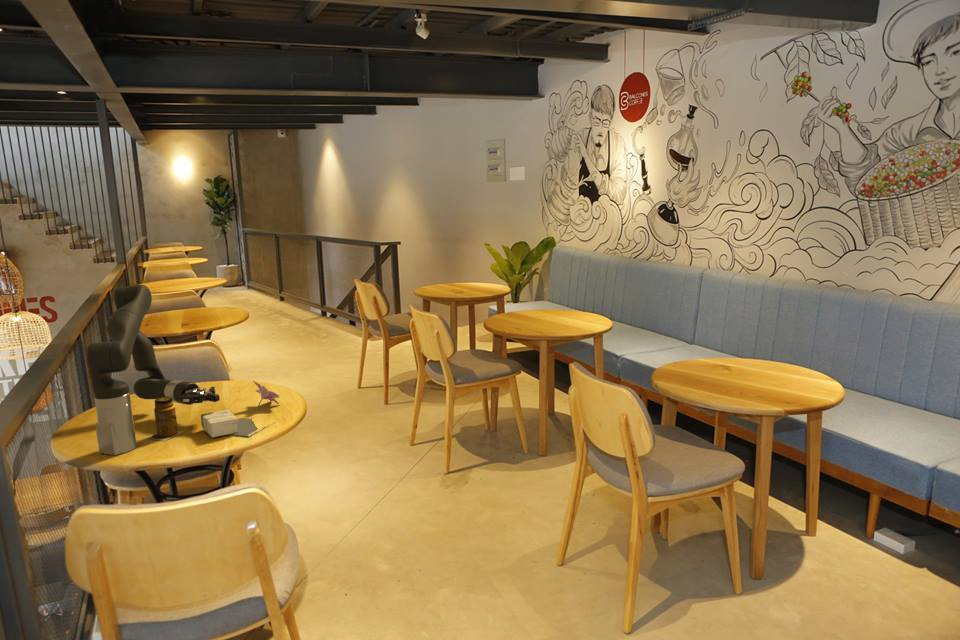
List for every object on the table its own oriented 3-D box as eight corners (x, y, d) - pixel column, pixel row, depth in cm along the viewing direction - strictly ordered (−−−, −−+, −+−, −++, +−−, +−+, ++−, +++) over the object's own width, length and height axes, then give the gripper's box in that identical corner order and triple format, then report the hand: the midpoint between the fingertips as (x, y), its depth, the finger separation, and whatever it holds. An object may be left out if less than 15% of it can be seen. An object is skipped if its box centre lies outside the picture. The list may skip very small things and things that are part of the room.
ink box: (201, 428, 213) (211, 438, 204) (200, 413, 213) (209, 423, 203) (229, 422, 218) (239, 433, 209) (227, 408, 218) (238, 418, 208)
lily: (280, 413, 230) (288, 387, 233) (246, 406, 226) (254, 378, 228) (274, 415, 241) (281, 389, 243) (241, 407, 236) (249, 381, 239)
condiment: (184, 431, 213) (180, 396, 210) (165, 441, 205) (160, 404, 202) (165, 430, 215) (161, 395, 212) (146, 439, 207) (141, 403, 204)
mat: (249, 437, 206) (249, 435, 206) (212, 433, 210) (212, 432, 210) (276, 422, 219) (275, 420, 219) (240, 418, 223) (240, 417, 223)
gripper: (163, 387, 216) (199, 393, 208) (197, 376, 228) (232, 381, 220) (166, 408, 218) (202, 415, 210) (199, 397, 229) (234, 403, 221)
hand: (217, 398), depth 215 cm, fingers closed
